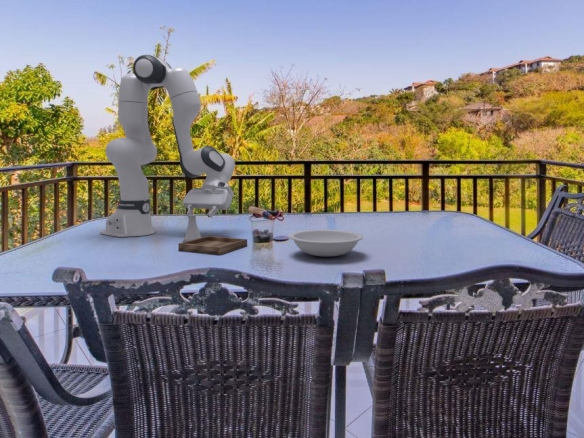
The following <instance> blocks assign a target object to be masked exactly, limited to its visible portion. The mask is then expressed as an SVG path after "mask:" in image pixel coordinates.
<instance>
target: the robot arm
mask: <svg viewBox="0 0 584 438" xmlns="http://www.w3.org/2000/svg"><path fill="white" fill-rule="evenodd" d="M132 72H133V73H127V74H124V75H123V76H122V77H121V79H120V84H119V89H118V103H117V104H118V105H117V106H118V112H117V113H118V114H117V115H118V117H117V118H118V119H117V120H118V123H119V124H120V126H121V127H122V130H123V132H124V135H125V137H118V138H116V139H112V140H110V141H109V142H108V143H107V145H106V146H105V156H106V158H107V160H108V161H109V162H110V163H111V164H112V165H113V167H114V169H115V172H116V175H117V179H118V183H119V194H120V200H119V201H115V205H116V206H117V209H115V211H114V212H113V213H112V214H111V215H110V216H108V217H107V218H106V220H105V229H102V230H100V231H99V234H100V235H105V236H112V237H116V238H117V237H118V238H124V237H126V238H127V237H142V236H149V235H153V234H155V229H154V226H153V223H152V215H151V199H150V193H149V192H150V191H149V180H148V179H147V177H146V176H145V175H144V173H143V170H142V166H144V165H148V164H150V163H153V162H154V161H155V160H156V158H157V157H158V149H157V146H156V144H155V143H154V141H153V140H152V136H151V133H150V130H149V129H150V128H149V123H148V122H149V121H148V117H149V116H148V113H149V112H148V107H149V106H148V105H149V103H148V102H149V100H148V99H149V93H150V92H149V91H150V90H152V91H154V90H158V89H161V88H165V89H166V91H167V93H168V94H167V95H168V97H169V100H170V103H171V108H172V127H173V132H174V137H175V140H176V145H177V150H178V156H179V166H180V170H181V172H182V173H183V174H184V175H185V176H186V177H188V178H191V179H195V178H197V177H199V176H201V175H203V174H205V175H206V177H205V179H204V181H203V183H202V185H201V187H194V188H192V189H190V190H189V191H188V192H187V194H186V195H185V197H184V198H183V199H182V204H183V205H184V207H185V208H186V209H187V212H186V214H187V216H188V215H194V212H193V210H194V209H199V210H200V209H202V210H209V211H208V212H207V214H206V216H207V218H213V216H214V215H215V214H216V213H217V212H219V210H221V211H222V210H223V211H226V210H228V209H229V208H230V206H231V204H232V202H233V201H232V200H233V197H234V195H235V194H234V191H233V189H232V187H230V185H229V184H228V183H229V182H230V180H231V179H232V176H233V175H234V171H235V167H236V162H235V160H234V158H233V157H232V156H231V155H230V154H228V153H222V152H219V151H218V150H217V149H216V148H215V147H213V146H211V145H206V146H204V147H203V146H202V147H201V148H198V149H196V150H195V149H194V145H193V141H192V137H191V126H192V124H193V122H194V120H195V119H196V118H197V117H198V115H199V113H200V111H201V108H202V103H201V98H200V95H199V92H198V89H197V87H196V85H195V82H194V80H193V78H192V76H191V74H190V73H189V71H188V70H187V69H186V68H185V67H181V66H180V67H179V66H176V67H172V66H171V65H170V63H168V62H167V61H165V60H164V59H162V58H159V57H157V56H153V55H151V54H142V55H140V56H137V58H135V60H134V61H133V64H132Z"/></svg>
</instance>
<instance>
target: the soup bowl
mask: <svg viewBox="0 0 584 438" xmlns="http://www.w3.org/2000/svg"><path fill="white" fill-rule="evenodd" d="M288 237H289V239H291V240H292V241H293V242H294V243H295V245H296V246H297V247H298V249H299V250H301V251H302V252H303V253H305V254H308V255H312V256H315V257H323V258H324V257H338V256H343V255H345V254H348V253H349V252H351V251H352V250H353V249H354V248H355V247H356V246H357V244H358V242H359V241H361V240H363V239H364V236H363V234H360V233H358V232H355V231H349V230H340V229H307V230H299V231H294V232H291V233H290V234H288Z"/></svg>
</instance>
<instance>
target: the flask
mask: <svg viewBox="0 0 584 438" xmlns="http://www.w3.org/2000/svg"><path fill="white" fill-rule="evenodd" d="M187 217H188V222H187V223H188V224H187V228H186V230H185V235H184V238H183V241H182V243H183V242H186V241H190V240H194V239H198V238H201V237H202V235H201V233H200V230H199V228H198V224H197V221H196V220H197V218H196V217H197V214H193V215H187Z"/></svg>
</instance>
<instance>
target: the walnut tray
mask: <svg viewBox="0 0 584 438" xmlns="http://www.w3.org/2000/svg"><path fill="white" fill-rule="evenodd" d="M246 247H248V239H247V238H235V237H226V236H225V237H224V236H215V235H214V236H213V235H207V236H201V238H198V239H194V240H190V241H186V242H183V241H182V242H179V243H178V251H179V252H186V253H196V254H204V253H207V254H206V255H213V254H215V256H222V255H226V254H229V253H231V252H234V251H237V250H240V249H243V248H246Z"/></svg>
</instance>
